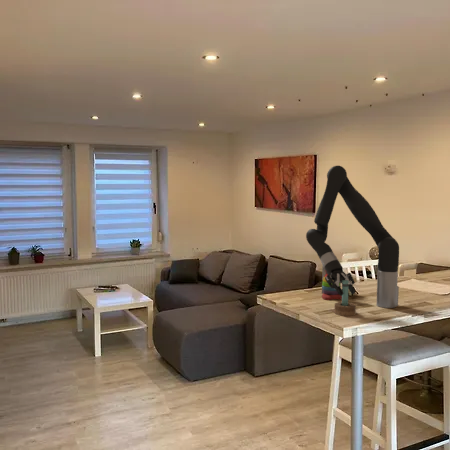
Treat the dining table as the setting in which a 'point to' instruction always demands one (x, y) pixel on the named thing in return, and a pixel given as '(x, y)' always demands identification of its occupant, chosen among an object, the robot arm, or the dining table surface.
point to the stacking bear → (329, 290)
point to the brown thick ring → (345, 309)
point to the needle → (345, 292)
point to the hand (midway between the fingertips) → (347, 293)
